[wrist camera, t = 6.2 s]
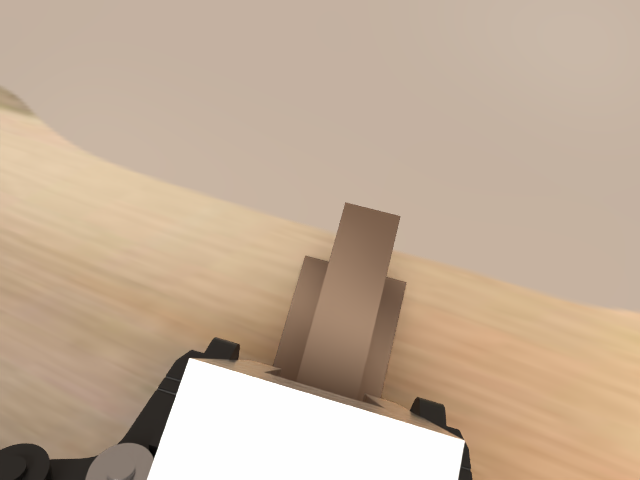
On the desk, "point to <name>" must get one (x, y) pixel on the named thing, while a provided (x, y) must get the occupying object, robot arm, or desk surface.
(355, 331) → the stand
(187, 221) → the desk surface
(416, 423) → the pale grey upright block
